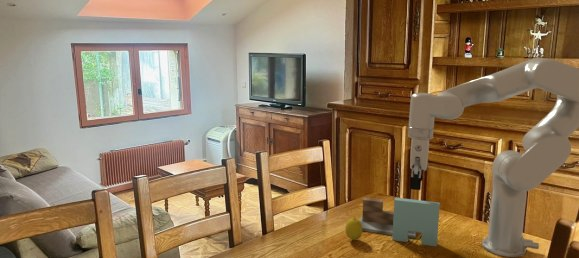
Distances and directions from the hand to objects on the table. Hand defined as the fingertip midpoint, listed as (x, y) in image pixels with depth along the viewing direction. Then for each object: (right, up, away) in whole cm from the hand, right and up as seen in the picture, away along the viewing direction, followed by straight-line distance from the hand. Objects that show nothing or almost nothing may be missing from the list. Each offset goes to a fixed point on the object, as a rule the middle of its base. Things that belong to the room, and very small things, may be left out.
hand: (416, 184), depth 138 cm
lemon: (-19, -19, +5) cm, 28 cm away
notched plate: (+1, -19, +4) cm, 20 cm away
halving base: (-5, -17, +16) cm, 24 cm away
